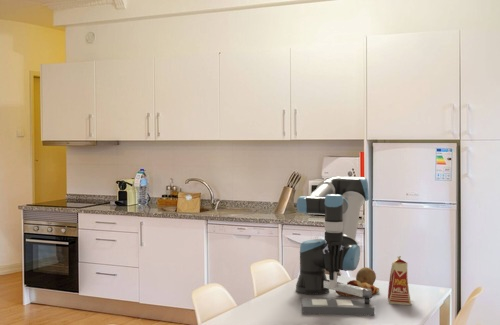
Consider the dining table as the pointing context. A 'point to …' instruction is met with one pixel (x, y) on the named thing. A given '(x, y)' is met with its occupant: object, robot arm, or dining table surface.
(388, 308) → the dining table surface
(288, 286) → the dining table surface
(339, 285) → the swing arm
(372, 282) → the natural sponge
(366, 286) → the croissant
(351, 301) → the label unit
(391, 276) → the milk carton
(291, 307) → the dining table surface
